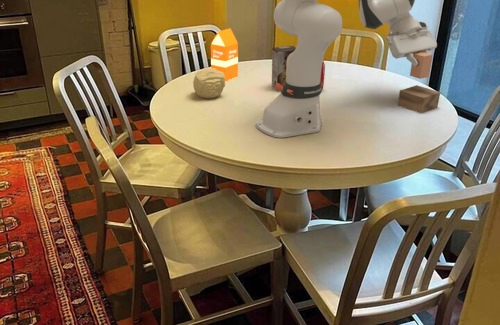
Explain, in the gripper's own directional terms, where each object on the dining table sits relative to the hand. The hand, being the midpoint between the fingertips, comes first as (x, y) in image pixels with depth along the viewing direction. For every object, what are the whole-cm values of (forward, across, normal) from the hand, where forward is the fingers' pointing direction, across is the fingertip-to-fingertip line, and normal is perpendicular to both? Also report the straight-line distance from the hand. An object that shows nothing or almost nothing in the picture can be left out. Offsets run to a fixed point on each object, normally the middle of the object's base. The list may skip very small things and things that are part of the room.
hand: (422, 64), depth 169 cm
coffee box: (-18, -29, +40) cm, 53 cm away
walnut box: (+12, 0, +10) cm, 16 cm away
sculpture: (-24, -59, +46) cm, 79 cm away
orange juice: (-36, -42, +58) cm, 80 cm away
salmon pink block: (+3, 0, +4) cm, 5 cm away
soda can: (-13, -20, +35) cm, 42 cm away
